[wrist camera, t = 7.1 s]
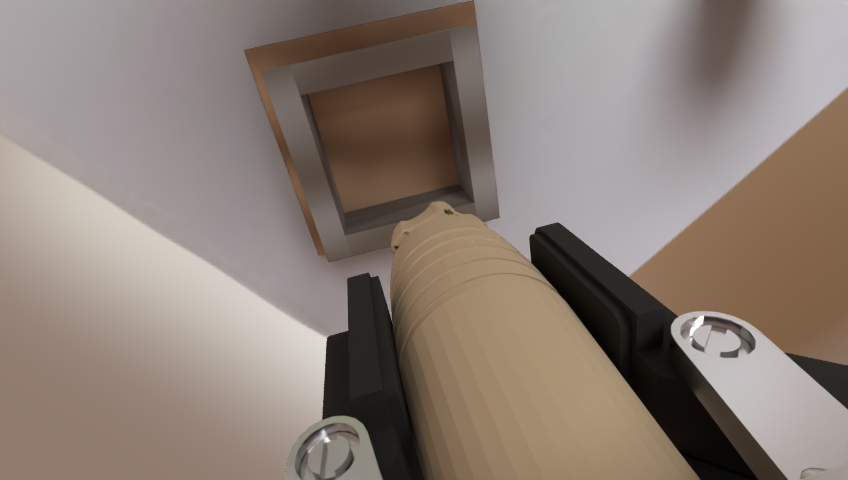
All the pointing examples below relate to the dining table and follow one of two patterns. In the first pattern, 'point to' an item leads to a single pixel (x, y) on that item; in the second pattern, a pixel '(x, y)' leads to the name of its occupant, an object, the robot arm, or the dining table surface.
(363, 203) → the socket
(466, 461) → the handle
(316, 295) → the dining table surface
